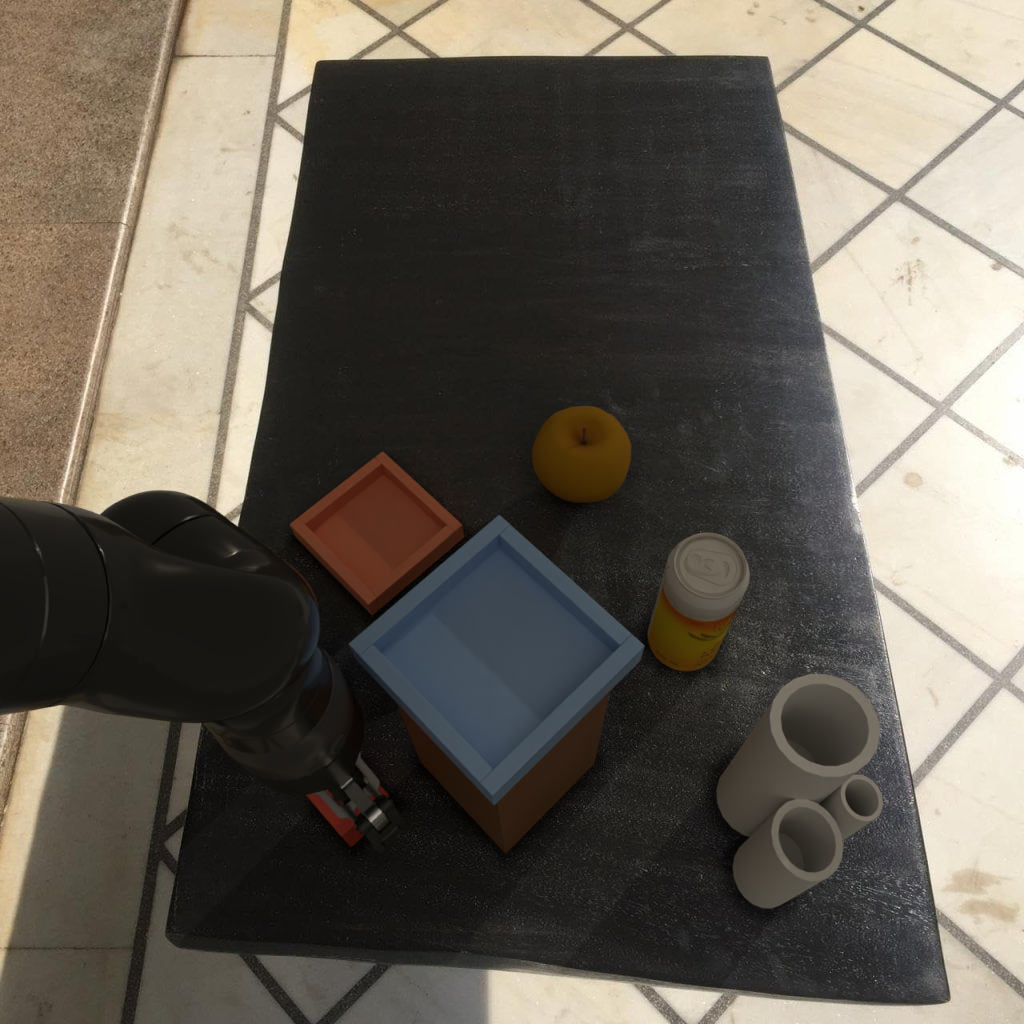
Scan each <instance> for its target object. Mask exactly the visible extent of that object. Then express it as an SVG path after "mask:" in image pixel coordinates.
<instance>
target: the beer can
mask: <svg viewBox="0 0 1024 1024" xmlns="http://www.w3.org/2000/svg"><path fill="white" fill-rule="evenodd" d="M750 573H751V572H750V566H749V563H748V561H747V559H746V556H745V554H744V552H743V551H742V549H741V548H740V546H739V545H738V544H737V543H736V542H734V541H733V540H732V539H730V538H729V537H727V536H726V535H722V534H719V533H716V532H700V533H696V534H693V535H690V536H688V537H686V538H685V539H682V540H681V541H679V542H678V543H677V544H676V545H675V546H674V547H673V548H672V550H671V551H670V553H669V554H668V558H667V560H666V564H665V567H664V571H663V574H662V578H661V582H660V585H659V589H658V592H657V596H656V599H655V603H654V607H653V610H652V614H651V617H650V621H649V624H648V628H647V639H648V640H647V641H648V645H649V648H650V650H651V652H652V654H653V655H654V657H655V658H656V659H657V660H658V661H659V662H660V663H662V664H664V665H665V666H666V667H668V668H671V669H672V670H676V671H680V672H692V671H696V670H699V669H702V668H704V667H706V666H707V665H709V664H710V663H711V662H712V661H713V660H714V658H715V657H716V655H717V653H718V651H719V650H720V648H721V645H722V643H723V641H724V638H725V636H726V634H727V633H728V630H729V628H730V626H731V623H732V621H733V620H734V617H735V616H736V613H737V611H738V609H739V607H740V605H741V603H742V600H743V598H744V596H745V594H746V591H747V590H748V587H749V584H750V580H751V579H750V578H751V577H750V576H751V574H750Z"/></svg>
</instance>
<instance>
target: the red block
mask: <svg viewBox="0 0 1024 1024" xmlns="http://www.w3.org/2000/svg"><path fill="white" fill-rule="evenodd" d="M326 791H327V792H328V793H329V794H330V795H331V796H332V794H331V793H330V792H329V791H328V790H326ZM378 792H379V793H380V794H381V793H382V794H384V795H385V796H386V797H387V798H388V797H390V795H389V793H388V792H387V790H385V788H384V787H383V786H382V785H381V784H380V785H379V788H378ZM305 796H306V797H307V798H308V799H309V801H310V802H311V803H312V805H314V806H315V808H316V810H318V812H319V813H320V814H321V815H322V816H323V818H325V820H326V821H328V823H329V824H330V825H331V827H333V829H334V830H335V831H336V832H337V833H338V835H339V836H340V837H341V838H342V839H343V840H344V841H345V842H346V844H348V846H349V847H350V848H352V847H353V846H354V845H356V844H357V843H358V842H359V841H360V840H361V839H362V838H363V837H364V836H365V835H364V834H363V833H361V834H360V833H359V832H358V831H357V830H356V829H355V827H354V826H356V825H355V824H354V822H353V821H352V820H351V818H349V817H347V818H344V819H341V818H339V817H338V816H337V815H336V814H335V813H334V812H333V810H332V809H331V808H330V807H329V806H328V805H327V804H326V802H325V801H324V800H323V799H322V798H321V797H320V796H319V795H313V794H308V795H305ZM332 797H333V796H332ZM369 797H370V799H371V800H372V801H373V800H375V799H374V798H373V797H372V796H369ZM393 805H394V806H395V807H396V805H395V804H394V803H393ZM355 813H356V814H357V815H358V814H360V813H361V811H360V810H359V809H358V807H357V808H356V809H355Z"/></svg>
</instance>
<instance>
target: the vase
mask: <svg viewBox="0 0 1024 1024" xmlns="http://www.w3.org/2000/svg"><path fill="white" fill-rule="evenodd" d="M880 737H881V729H880V723H879V716H878V714H877V712H876V710H875V708H874V706H873V704H872V702H871V701H870V699H869V698H868V697H867V696H866V695H865V694H864V693H863V692H862V691H861V690H860V689H859V688H858V687H857V686H855V685H853V684H851V683H850V682H849V681H847V680H845V679H844V678H841V677H837V676H834V675H830V674H827V673H808V674H806V675H802V676H799V677H795V678H793V679H792V680H790V681H789V682H788V683H786V684H785V685H784V686H782V687H781V688H780V690H779V691H778V692H777V694H776V695H775V697H774V698H773V699H772V701H771V703H770V704H769V706H768V707H767V709H766V710H765V711H764V713H763V714H762V716H761V717H760V719H759V720H758V722H757V723H756V725H755V726H754V727H753V728H752V730H751V732H750V733H749V734H748V736H747V738H746V739H745V740H744V742H743V743H742V745H741V746H740V748H739V749H738V751H737V752H736V753H735V755H734V756H733V758H732V759H731V761H730V762H729V764H728V765H727V767H726V768H725V770H724V771H723V772H722V774H721V776H720V777H719V779H718V783H717V786H716V790H715V791H716V804H717V806H718V809H719V812H720V814H721V816H722V817H723V819H724V820H725V821H726V823H727V824H728V825H729V826H730V827H731V828H732V829H733V830H735V831H736V832H738V834H740V835H742V836H745V837H748V838H747V839H746V840H745V841H744V842H743V843H742V844H741V845H740V846H739V847H738V849H737V850H736V852H735V854H734V856H733V862H732V873H733V879H734V882H735V884H736V887H737V889H738V891H739V892H740V893H741V895H742V896H743V898H744V899H745V900H746V901H748V902H749V903H750V904H752V905H753V906H756V907H758V908H760V909H774V908H776V907H779V906H782V905H783V904H785V903H787V902H789V901H790V900H792V899H794V898H795V897H797V896H799V895H801V894H803V893H804V892H806V891H807V890H809V889H811V888H813V887H815V886H816V885H818V884H820V883H821V882H823V881H824V880H827V879H829V878H830V877H831V876H832V875H833V874H834V873H835V872H836V871H838V869H839V867H840V864H841V862H842V861H843V854H844V843H843V842H844V841H845V840H846V839H848V838H849V837H851V836H852V835H854V834H855V833H857V832H858V831H860V830H861V829H862V828H864V827H866V826H867V825H869V824H870V823H872V822H873V821H874V820H876V819H877V818H878V817H879V816H880V815H881V814H882V813H881V812H882V811H883V806H884V800H883V795H882V792H881V790H880V788H879V786H878V785H877V784H876V783H875V781H873V780H872V779H871V778H870V777H868V776H866V775H863V774H856V773H858V772H859V771H860V770H862V769H863V768H864V767H865V766H866V765H867V764H868V763H870V762H871V760H872V759H873V756H874V755H875V753H876V752H877V750H878V747H879V741H880Z"/></svg>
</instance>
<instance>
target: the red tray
mask: <svg viewBox="0 0 1024 1024" xmlns="http://www.w3.org/2000/svg"><path fill="white" fill-rule="evenodd" d="M463 526H464V525H463V524H462V523H461V522H460V521H459V520H458V519H457V518H456V517H455V516H454V515H453V514H452V513H450V512H449V511H448V510H447V509H446V508H445V507H444V506H443V505H441V504H440V503H439V501H437V500H436V499H435V498H434V497H433V496H432V495H431V494H430V493H429V492H428V491H426V489H424V488H423V487H422V486H421V485H420V484H419V483H418V482H417V481H416V480H415V479H414V478H413V477H411V475H409V474H408V473H407V472H406V471H405V470H404V469H403V468H402V467H401V466H399V464H398V463H396V462H395V461H394V460H393V459H392V458H391V457H390V456H389V455H387V453H385V451H381V452H380V453H378V454H377V455H375V457H373V458H372V459H371V460H369V461H368V462H367V463H365V464H364V465H363V466H361V467H360V468H359V469H358V470H357V471H355V472H354V473H353V474H352V475H350V476H349V477H348V478H347V479H345V480H344V481H343V482H342V483H340V484H338V485H337V487H335V488H333V490H331V491H330V492H329V493H327V494H326V495H325V496H323V497H322V498H321V499H320V500H318V501H317V502H316V503H315V504H313V505H312V506H310V508H308V509H307V510H306V511H305V512H303V513H302V514H301V515H299V516H298V517H297V518H295V519H294V520H293V521H292V522H291V523H289V527H290V528H291V531H292V533H293V535H294V537H295V538H296V539H297V540H298V541H299V543H301V545H303V546H304V547H305V549H307V551H308V552H309V553H310V554H311V555H313V557H314V558H315V559H316V560H317V561H318V562H319V563H320V564H321V565H322V566H323V567H324V568H325V569H326V570H327V571H328V573H330V574H331V575H332V576H333V577H334V578H335V579H336V580H337V581H338V582H339V583H340V585H342V586H343V587H344V588H345V590H346V591H348V593H349V594H351V596H352V597H354V599H355V600H356V601H357V602H358V603H359V605H361V606H362V607H363V608H364V609H365V610H366V611H367V612H368V613H369V614H370V615H371V616H374V615H375V614H376V613H377V612H379V611H380V610H381V609H382V608H383V607H384V606H385V605H387V604H388V603H389V602H390V601H391V600H392V599H394V598H395V597H396V596H398V595H399V593H401V592H402V591H403V590H405V588H406V587H408V586H409V585H410V584H411V583H412V582H414V581H415V580H416V579H417V578H418V577H420V576H421V575H422V574H423V573H424V572H425V571H426V570H428V569H429V568H430V567H431V566H432V565H434V564H435V563H437V562H438V560H440V559H441V558H442V557H443V556H444V555H445V554H447V553H448V552H449V551H450V550H451V549H452V548H454V547H455V546H456V545H457V544H458V543H459V542H460V541H462V540H463V539H464V538H465V534H464V527H463Z"/></svg>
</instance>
